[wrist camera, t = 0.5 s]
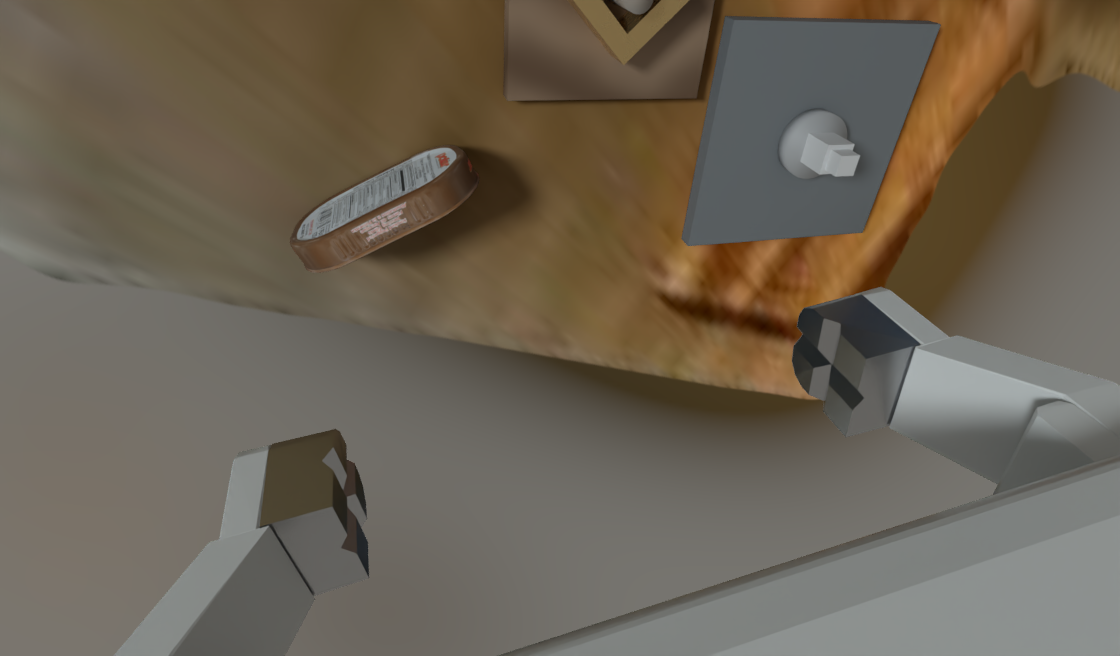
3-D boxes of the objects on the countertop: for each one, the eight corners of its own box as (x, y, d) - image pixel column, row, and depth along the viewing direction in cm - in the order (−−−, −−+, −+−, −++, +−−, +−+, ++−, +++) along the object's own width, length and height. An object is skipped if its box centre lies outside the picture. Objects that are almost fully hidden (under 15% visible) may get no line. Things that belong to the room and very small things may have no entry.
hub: (725, 16, 52) (774, 37, 46) (928, 20, 57) (995, 40, 51) (681, 238, 63) (716, 277, 57) (853, 226, 68) (901, 260, 62)
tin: (309, 240, 53) (305, 294, 47) (286, 210, 51) (278, 262, 45) (472, 159, 53) (490, 202, 46) (454, 125, 51) (471, 165, 44)
